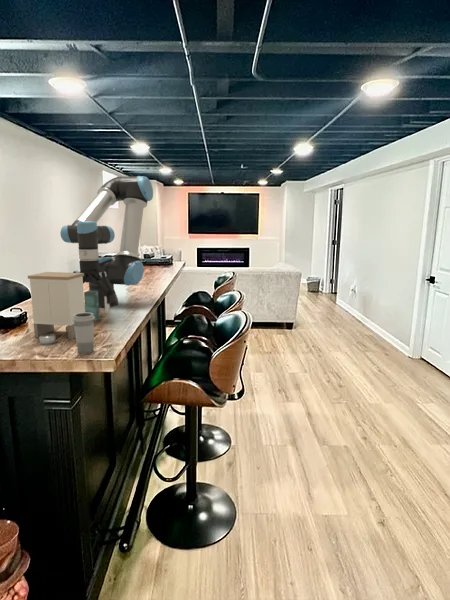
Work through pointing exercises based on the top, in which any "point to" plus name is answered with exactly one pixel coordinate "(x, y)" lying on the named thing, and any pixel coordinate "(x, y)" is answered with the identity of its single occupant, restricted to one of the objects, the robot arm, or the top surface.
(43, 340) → the steel puck
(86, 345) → the cup
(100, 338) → the top surface
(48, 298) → the cupboard
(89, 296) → the teal mallet
